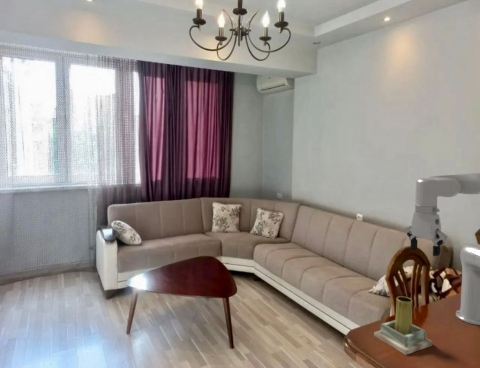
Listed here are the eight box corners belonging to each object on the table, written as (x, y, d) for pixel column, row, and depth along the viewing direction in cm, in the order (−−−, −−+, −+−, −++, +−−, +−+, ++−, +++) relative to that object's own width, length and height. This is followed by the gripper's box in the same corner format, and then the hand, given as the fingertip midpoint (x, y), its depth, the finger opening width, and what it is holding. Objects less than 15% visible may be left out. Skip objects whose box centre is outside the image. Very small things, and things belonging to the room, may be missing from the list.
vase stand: (400, 327, 137) (400, 315, 137) (432, 345, 125) (433, 332, 124) (374, 335, 131) (374, 323, 131) (405, 354, 119) (406, 341, 118)
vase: (414, 341, 124) (415, 303, 123) (395, 339, 126) (397, 301, 125) (409, 333, 130) (411, 296, 129) (392, 331, 132) (393, 295, 131)
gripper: (453, 212, 129) (452, 256, 131) (413, 206, 145) (412, 246, 146) (440, 214, 126) (439, 259, 128) (400, 207, 142) (399, 248, 143)
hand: (424, 252), depth 137 cm, fingers open, 9 cm apart
